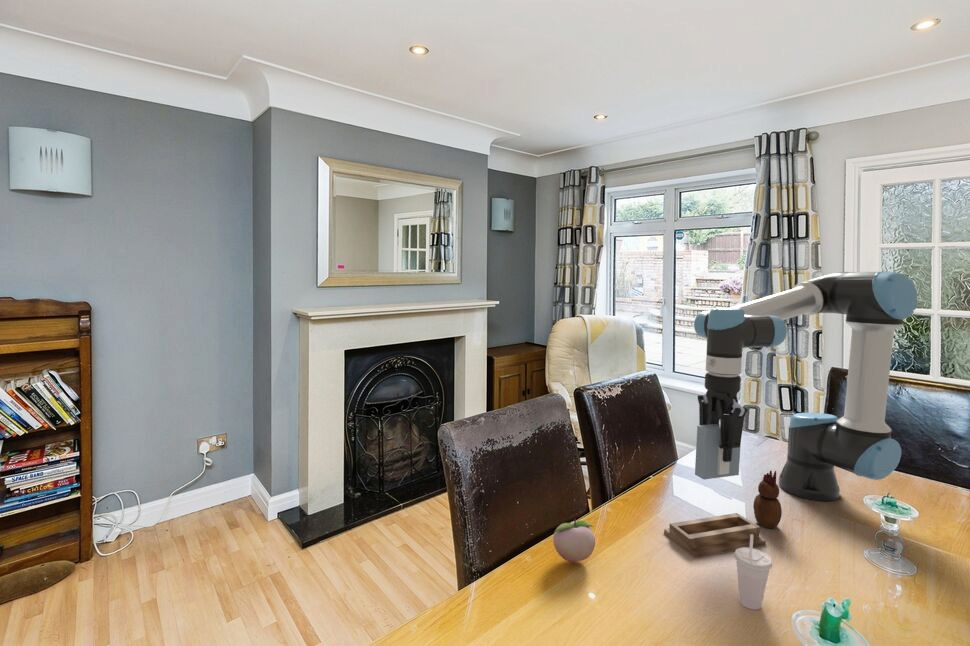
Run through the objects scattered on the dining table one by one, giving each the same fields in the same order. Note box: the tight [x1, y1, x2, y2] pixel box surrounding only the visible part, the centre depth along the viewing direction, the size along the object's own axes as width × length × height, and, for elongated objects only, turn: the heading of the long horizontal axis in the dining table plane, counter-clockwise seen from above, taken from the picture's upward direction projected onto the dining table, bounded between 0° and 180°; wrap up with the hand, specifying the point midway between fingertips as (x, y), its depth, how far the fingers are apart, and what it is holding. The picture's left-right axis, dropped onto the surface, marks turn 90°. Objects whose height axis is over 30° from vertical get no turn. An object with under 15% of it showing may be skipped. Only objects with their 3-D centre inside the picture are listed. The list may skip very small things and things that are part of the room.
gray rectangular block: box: [694, 423, 742, 480], centre depth 116 cm, size 10×3×12 cm, turn 106°
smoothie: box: [733, 534, 773, 610], centre depth 94 cm, size 6×6×14 cm
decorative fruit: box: [552, 518, 596, 563], centre depth 107 cm, size 9×8×10 cm
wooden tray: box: [663, 512, 767, 558], centre depth 118 cm, size 20×11×3 cm, turn 106°
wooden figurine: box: [752, 470, 783, 529], centre depth 124 cm, size 7×6×15 cm
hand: (717, 470), depth 116 cm, fingers closed on gray rectangular block, 3 cm apart
